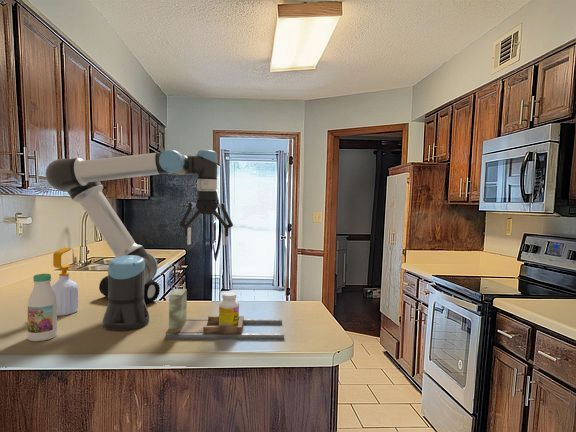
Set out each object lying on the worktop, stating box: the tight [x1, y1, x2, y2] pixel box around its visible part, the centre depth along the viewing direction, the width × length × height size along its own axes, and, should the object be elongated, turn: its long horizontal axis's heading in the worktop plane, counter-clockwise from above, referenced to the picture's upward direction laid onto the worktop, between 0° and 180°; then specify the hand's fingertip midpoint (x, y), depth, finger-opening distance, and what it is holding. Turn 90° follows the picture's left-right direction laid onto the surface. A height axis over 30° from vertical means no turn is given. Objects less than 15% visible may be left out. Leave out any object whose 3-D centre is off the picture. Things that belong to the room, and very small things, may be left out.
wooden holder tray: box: [165, 288, 245, 335], centre depth 125 cm, size 24×11×13 cm, turn 94°
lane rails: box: [165, 318, 285, 340], centre depth 126 cm, size 38×15×2 cm, turn 94°
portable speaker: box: [98, 275, 161, 304], centre depth 159 cm, size 26×10×10 cm, turn 71°
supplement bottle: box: [218, 291, 240, 326], centre depth 126 cm, size 7×7×13 cm
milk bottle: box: [27, 273, 58, 342], centre depth 116 cm, size 8×8×20 cm
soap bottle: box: [51, 247, 79, 317], centre depth 140 cm, size 9×9×25 cm
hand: (206, 244), depth 144 cm, fingers open, 13 cm apart
